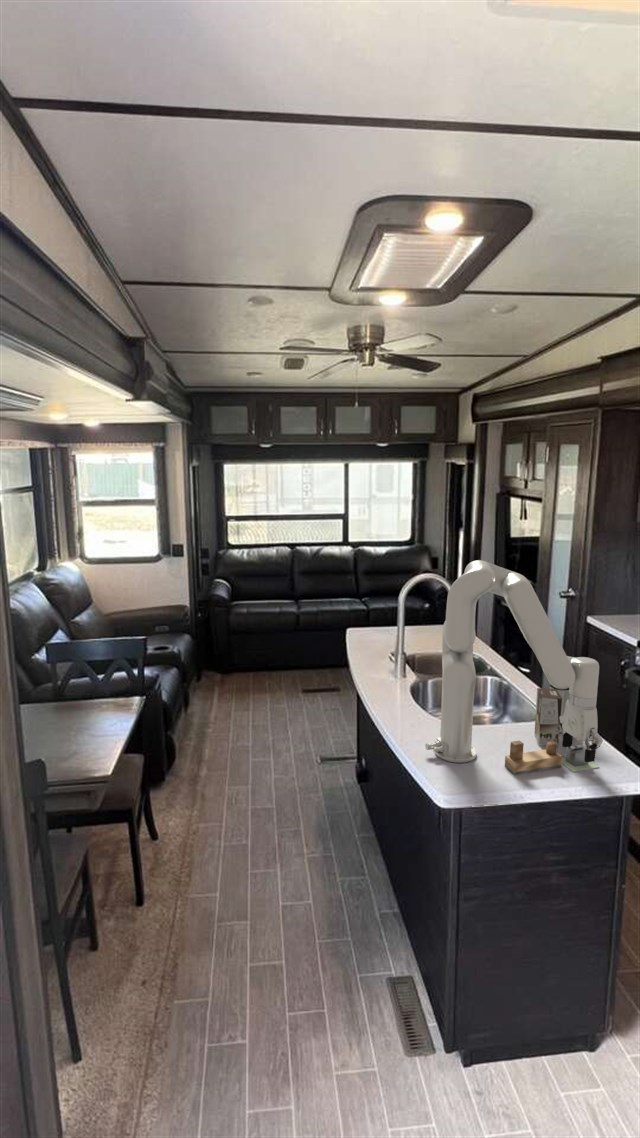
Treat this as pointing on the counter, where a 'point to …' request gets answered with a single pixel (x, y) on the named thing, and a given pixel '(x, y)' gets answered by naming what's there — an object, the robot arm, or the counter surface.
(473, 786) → the counter surface
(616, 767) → the counter surface
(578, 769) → the felt pad
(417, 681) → the counter surface
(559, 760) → the wooden peg block
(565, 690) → the spray can
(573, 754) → the lever cap
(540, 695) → the coffee box
